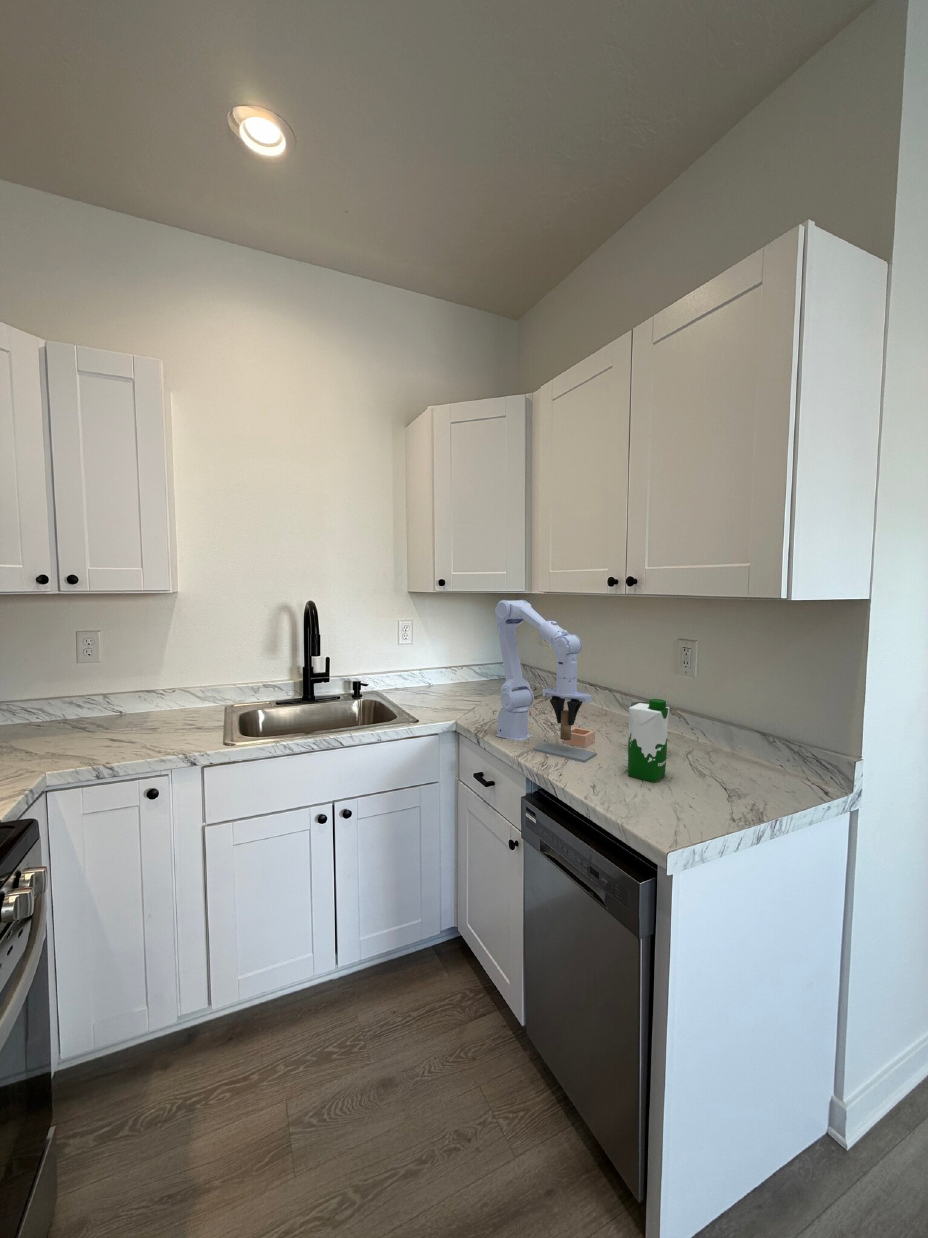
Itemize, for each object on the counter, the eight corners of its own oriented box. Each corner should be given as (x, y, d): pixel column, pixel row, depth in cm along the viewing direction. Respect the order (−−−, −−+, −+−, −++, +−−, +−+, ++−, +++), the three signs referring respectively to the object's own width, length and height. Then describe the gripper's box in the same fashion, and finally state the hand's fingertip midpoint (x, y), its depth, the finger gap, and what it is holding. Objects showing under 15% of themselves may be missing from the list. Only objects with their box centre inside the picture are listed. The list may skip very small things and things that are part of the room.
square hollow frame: (563, 744, 158) (564, 732, 158) (573, 739, 164) (574, 727, 163) (584, 749, 154) (585, 736, 154) (594, 744, 159) (595, 731, 159)
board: (533, 752, 151) (533, 748, 151) (547, 745, 157) (547, 741, 157) (584, 764, 141) (584, 760, 141) (596, 757, 147) (596, 752, 147)
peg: (558, 739, 149) (558, 711, 148) (563, 736, 151) (563, 709, 150) (568, 741, 147) (568, 713, 146) (572, 738, 149) (573, 711, 149)
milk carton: (658, 785, 127) (661, 705, 126) (622, 776, 133) (625, 699, 131) (669, 775, 134) (672, 699, 132) (635, 767, 139) (638, 694, 138)
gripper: (596, 678, 146) (595, 725, 147) (551, 672, 155) (550, 716, 156) (585, 681, 141) (584, 730, 142) (539, 675, 150) (538, 721, 151)
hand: (565, 723), depth 148 cm, fingers closed on peg, 3 cm apart
